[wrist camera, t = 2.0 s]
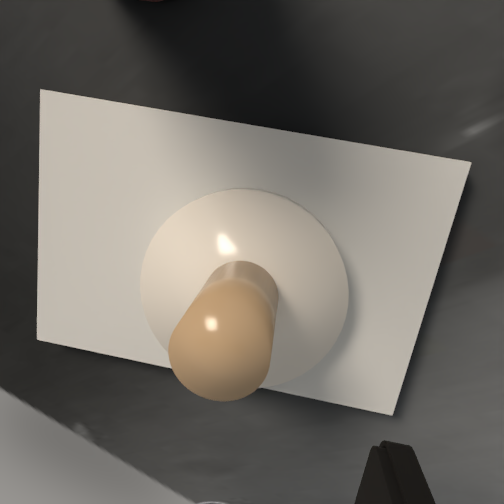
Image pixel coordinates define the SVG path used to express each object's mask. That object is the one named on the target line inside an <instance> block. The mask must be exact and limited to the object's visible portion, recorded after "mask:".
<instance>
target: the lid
mask: <svg viewBox="0 0 504 504" xmlns="http://www.w3.org/2000/svg"><path fill="white" fill-rule="evenodd" d="M140 293H141V302H142V306H143V310H144V314H145V316H146V319H147V321H148V324H149V326H150V328H151V330H152V332H153V334H154V336H155V337H156V339H157V340H158V341H159V343H160V344H161V346H162V347H163V348H164V349H165V350H166V351H167V353H168V355H169V361H170V364H171V367H172V370H173V371H174V373H175V375H176V376H177V378H178V379H179V381H180V382H181V383H182V384H183V385H184V386H185V387H186V388H188V389H189V390H190V391H192V392H193V393H195V394H197V395H199V396H201V397H204V398H206V399H210V400H215V401H232V400H237V399H240V398H243V397H245V396H248V395H249V394H251V393H252V392H254V391H255V390H256V389H257V388H265V387H270V386H275V385H279V384H282V383H285V382H288V381H290V380H292V379H294V378H297V377H299V376H301V375H302V374H304V373H305V372H307V371H309V370H310V369H311V368H313V367H314V366H315V365H316V364H317V363H319V362H320V361H321V360H322V359H323V358H324V357H325V355H326V354H327V353H328V352H329V351H330V349H331V348H332V346H333V345H334V344H335V342H336V341H337V338H338V336H339V334H340V332H341V330H342V328H343V325H344V322H345V319H346V314H347V309H348V298H349V289H348V280H347V275H346V271H345V267H344V263H343V261H342V258H341V255H340V253H339V250H338V248H337V246H336V243H335V242H334V240H333V238H332V237H331V235H330V233H329V232H328V231H327V229H326V228H325V227H324V225H323V224H322V223H321V222H320V221H319V220H318V219H317V218H316V217H315V216H314V215H313V214H312V213H311V212H310V211H308V210H307V209H306V208H304V207H303V206H302V205H300V204H299V203H297V202H295V201H293V200H291V199H290V198H288V197H285V196H283V195H280V194H277V193H275V192H271V191H267V190H263V189H255V188H231V189H224V190H219V191H216V192H213V193H209V194H207V195H205V196H202V197H200V198H198V199H196V200H194V201H192V202H190V203H189V204H187V205H186V206H184V207H182V208H181V209H179V210H178V211H176V212H175V213H174V214H173V215H172V216H171V217H169V218H168V219H167V220H166V221H165V223H164V224H163V225H162V226H161V227H160V228H159V229H158V231H157V232H156V234H155V235H154V237H153V239H152V240H151V242H150V244H149V246H148V249H147V251H146V253H145V257H144V260H143V263H142V269H141V275H140Z"/></svg>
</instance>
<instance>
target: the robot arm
mask: <svg viewBox="0 0 504 504" xmlns="http://www.w3.org/2000/svg"><path fill="white" fill-rule="evenodd" d="M355 504H435V501H434V499H433V496H432V494H431V492H430V489H429V487H428V484H427V482H426V479H425V477H424V474H423V472H422V470H421V467H420V465H419V462H418V460H417V457H416V455H415V452H414V450H413V449H412V447H411V446H409V445H404V444H399V443H395V442H390V441H382V442H381V444H380V446H379V447H378V446H373V447H372V448H371V450H370V453H369V457H368V460H367V463H366V467H365V470H364V474H363V477H362V480H361V484H360V487H359V490H358V494H357V497H356V501H355Z"/></svg>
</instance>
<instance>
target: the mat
mask: <svg viewBox="0 0 504 504" xmlns="http://www.w3.org/2000/svg"><path fill="white" fill-rule="evenodd" d="M470 165H471V162H467V161H461V160H455V159H449V158H443V157H437V156H431V155H425V154H419V153H414V152H408V151H402V150H396V149H390V148H384V147H378V146H372V145H366V144H360V143H355V142H349V141H343V140H337V139H331V138H325V137H319V136H313V135H307V134H302V133H296V132H290V131H284V130H278V129H272V128H266V127H260V126H254V125H248V124H243V123H237V122H231V121H225V120H219V119H213V118H207V117H201V116H195V115H189V114H184V113H178V112H172V111H166V110H160V109H154V108H148V107H142V106H136V105H131V104H125V103H119V102H113V101H107V100H101V99H95V98H89V97H83V96H77V95H72V94H66V93H60V92H54V91H48V90H42V89H40V147H39V221H38V295H37V340H41V341H46V342H51V343H55V344H60V345H65V346H69V347H74V348H79V349H83V350H88V351H93V352H97V353H102V354H107V355H111V356H116V357H121V358H125V359H130V360H135V361H139V362H144V363H149V364H153V365H158V366H163V367H167V368H172V367H171V364H170V361H169V355H168V353H167V351H166V350H165V349H164V348H163V347H162V346H161V344H160V343H159V341H158V340H157V339H156V337H155V336H154V334H153V332H152V330H151V328H150V326H149V324H148V321H147V319H146V316H145V314H144V310H143V306H142V302H141V293H140V275H141V269H142V263H143V260H144V257H145V253H146V251H147V249H148V246H149V244H150V242H151V240H152V239H153V237H154V235H155V234H156V232H157V231H158V229H159V228H160V227H161V226H162V225H163V224H164V223H165V221H166V220H167V219H168V218H169V217H171V216H172V215H173V214H174V213H175V212H176V211H178V210H179V209H181V208H182V207H184V206H186V205H187V204H189V203H190V202H192V201H194V200H196V199H198V198H200V197H202V196H205V195H207V194H209V193H213V192H216V191H219V190H224V189H231V188H255V189H263V190H267V191H271V192H275V193H277V194H280V195H283V196H285V197H288V198H290V199H291V200H293V201H295V202H297V203H299V204H300V205H302V206H303V207H304V208H306V209H307V210H308V211H310V212H311V213H312V214H313V215H314V216H315V217H316V218H317V219H318V220H319V221H320V222H321V223H322V224H323V225H324V227H325V228H326V229H327V231H328V232H329V233H330V235H331V237H332V238H333V240H334V242H335V243H336V246H337V248H338V250H339V253H340V255H341V258H342V261H343V263H344V267H345V271H346V275H347V280H348V289H349V298H348V309H347V314H346V319H345V322H344V325H343V328H342V330H341V332H340V334H339V336H338V338H337V341H336V342H335V344H334V345H333V346H332V348H331V349H330V351H329V352H328V353H327V354H326V355H325V357H324V358H323V359H322V360H321V361H320V362H319V363H317V364H316V365H315V366H314V367H313V368H311V369H310V370H309V371H307V372H305V373H304V374H302V375H301V376H299V377H297V378H294V379H292V380H290V381H288V382H285V383H282V384H279V385H275V386H270V387H265V388H266V389H270V390H275V391H280V392H284V393H289V394H294V395H298V396H303V397H308V398H312V399H317V400H322V401H326V402H331V403H336V404H340V405H345V406H350V407H354V408H359V409H364V410H368V411H373V412H378V413H382V414H387V415H393V412H394V409H395V406H396V402H397V399H398V396H399V393H400V390H401V386H402V383H403V380H404V377H405V374H406V370H407V367H408V364H409V361H410V358H411V354H412V351H413V348H414V345H415V342H416V338H417V335H418V332H419V329H420V326H421V322H422V319H423V316H424V313H425V310H426V306H427V303H428V300H429V297H430V294H431V290H432V287H433V284H434V281H435V278H436V274H437V271H438V268H439V265H440V262H441V258H442V255H443V252H444V249H445V245H446V242H447V239H448V236H449V233H450V229H451V226H452V223H453V220H454V217H455V213H456V210H457V207H458V204H459V201H460V197H461V194H462V191H463V188H464V185H465V181H466V178H467V175H468V172H469V169H470Z"/></svg>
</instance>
